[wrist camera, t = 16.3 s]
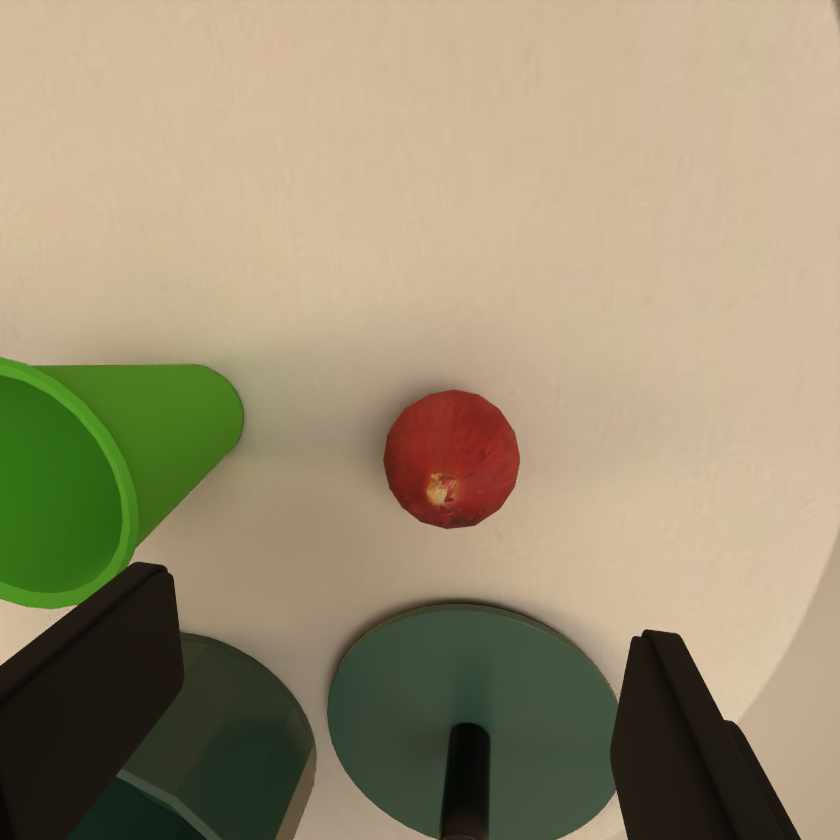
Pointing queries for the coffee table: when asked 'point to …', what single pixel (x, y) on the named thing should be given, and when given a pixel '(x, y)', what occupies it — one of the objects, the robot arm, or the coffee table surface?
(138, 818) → the pot
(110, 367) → the cup
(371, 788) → the lid
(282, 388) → the coffee table surface
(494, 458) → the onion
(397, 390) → the coffee table surface
